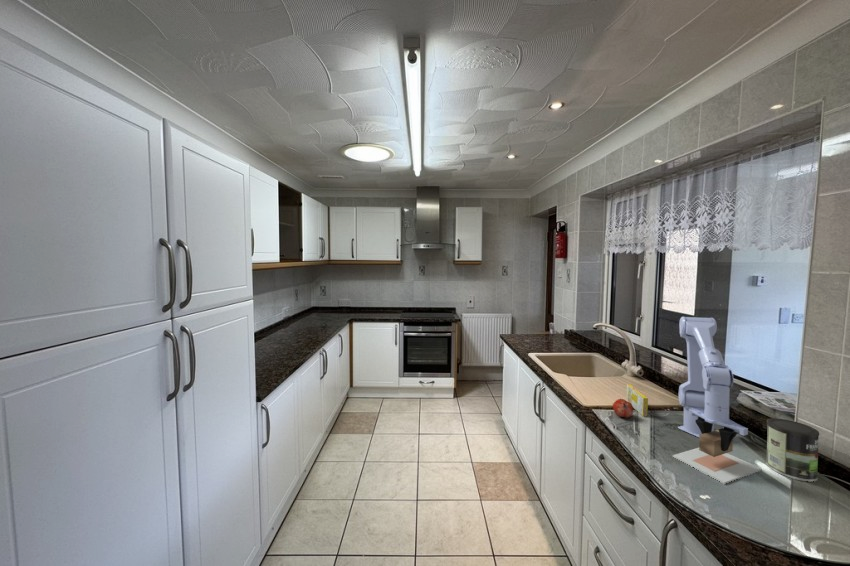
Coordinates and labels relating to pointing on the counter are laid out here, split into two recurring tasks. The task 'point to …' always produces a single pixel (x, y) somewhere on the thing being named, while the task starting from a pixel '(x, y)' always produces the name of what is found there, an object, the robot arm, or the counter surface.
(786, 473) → the coffee can
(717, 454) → the walnut block
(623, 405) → the pomegranate
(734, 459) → the mat
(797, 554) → the counter surface
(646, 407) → the candy box
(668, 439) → the counter surface
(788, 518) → the counter surface
